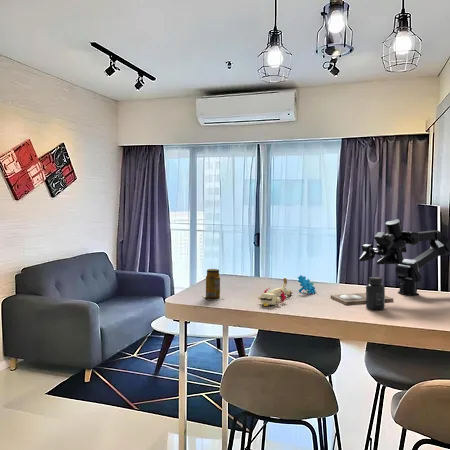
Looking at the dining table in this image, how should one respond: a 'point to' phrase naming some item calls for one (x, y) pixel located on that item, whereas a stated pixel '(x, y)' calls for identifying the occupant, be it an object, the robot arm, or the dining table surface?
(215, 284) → the condiment
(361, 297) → the walnut board
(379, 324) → the dining table surface
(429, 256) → the robot arm
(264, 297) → the cat figure
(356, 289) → the dining table surface
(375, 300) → the supplement bottle
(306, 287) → the blue lumpy piece
